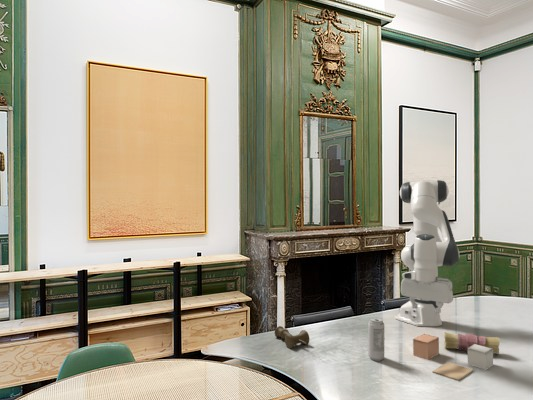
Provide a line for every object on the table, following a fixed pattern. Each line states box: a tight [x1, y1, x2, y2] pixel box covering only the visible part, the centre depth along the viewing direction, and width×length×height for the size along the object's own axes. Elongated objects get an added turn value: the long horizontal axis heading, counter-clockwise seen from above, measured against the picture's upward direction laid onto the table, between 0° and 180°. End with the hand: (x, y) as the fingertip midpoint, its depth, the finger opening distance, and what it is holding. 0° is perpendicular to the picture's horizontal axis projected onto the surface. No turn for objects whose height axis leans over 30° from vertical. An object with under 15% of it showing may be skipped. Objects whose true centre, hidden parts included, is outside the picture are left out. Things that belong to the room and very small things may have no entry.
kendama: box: [274, 325, 310, 350], centre depth 169 cm, size 6×10×20 cm
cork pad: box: [432, 361, 474, 382], centre depth 141 cm, size 9×12×1 cm
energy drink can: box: [367, 317, 385, 362], centre depth 153 cm, size 6×6×15 cm
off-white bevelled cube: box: [467, 344, 494, 370], centre depth 147 cm, size 6×6×6 cm
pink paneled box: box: [412, 333, 440, 361], centre depth 156 cm, size 6×9×6 cm, turn 131°
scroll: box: [443, 331, 501, 355], centre depth 160 cm, size 8×8×20 cm
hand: (426, 310), depth 156 cm, fingers open, 8 cm apart
